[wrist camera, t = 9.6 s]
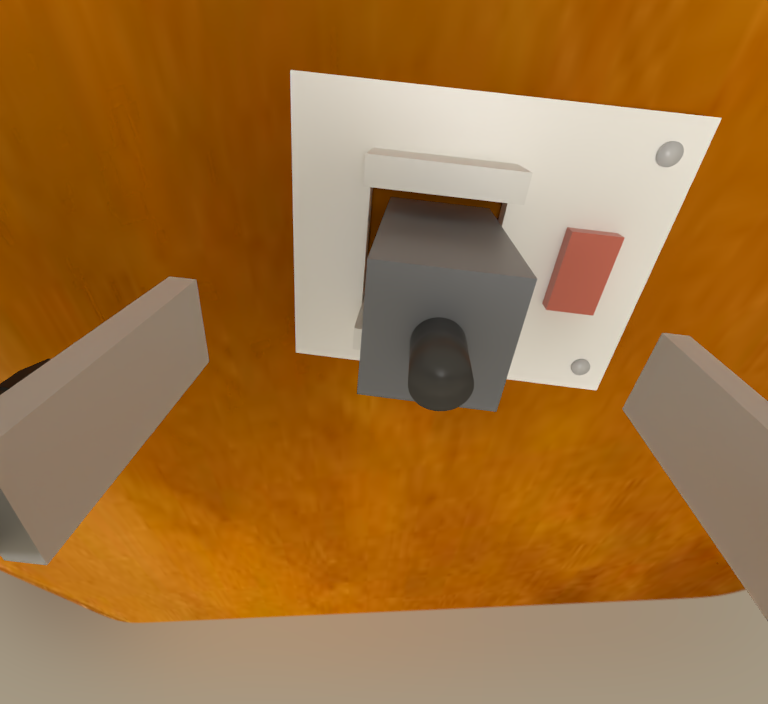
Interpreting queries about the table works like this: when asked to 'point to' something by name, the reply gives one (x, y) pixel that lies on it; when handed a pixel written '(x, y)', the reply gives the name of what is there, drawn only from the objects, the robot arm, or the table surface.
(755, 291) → the table surface
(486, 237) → the plug
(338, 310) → the socket
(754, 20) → the table surface
